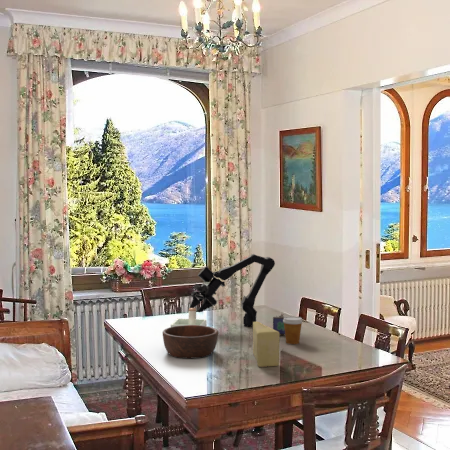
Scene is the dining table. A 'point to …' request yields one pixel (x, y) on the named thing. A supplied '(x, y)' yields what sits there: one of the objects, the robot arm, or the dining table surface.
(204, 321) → the bin
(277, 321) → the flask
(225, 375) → the dining table surface
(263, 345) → the cheese
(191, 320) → the jar
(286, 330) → the disposable coffee cup
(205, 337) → the wooden bowl
